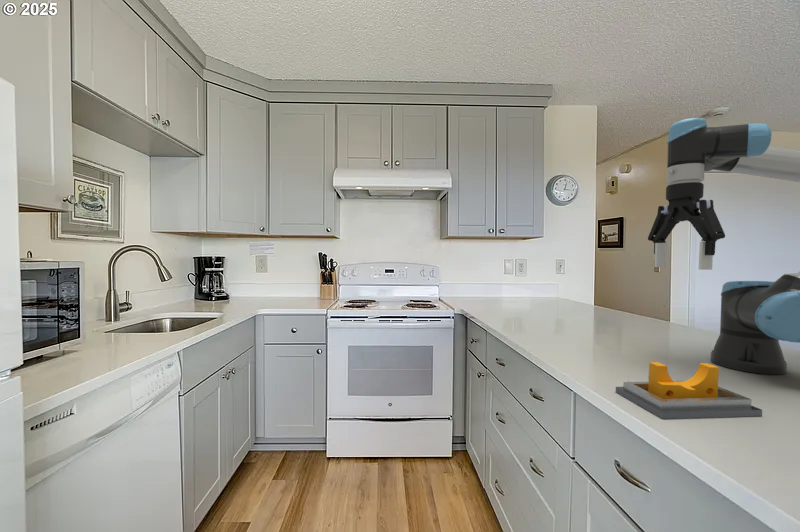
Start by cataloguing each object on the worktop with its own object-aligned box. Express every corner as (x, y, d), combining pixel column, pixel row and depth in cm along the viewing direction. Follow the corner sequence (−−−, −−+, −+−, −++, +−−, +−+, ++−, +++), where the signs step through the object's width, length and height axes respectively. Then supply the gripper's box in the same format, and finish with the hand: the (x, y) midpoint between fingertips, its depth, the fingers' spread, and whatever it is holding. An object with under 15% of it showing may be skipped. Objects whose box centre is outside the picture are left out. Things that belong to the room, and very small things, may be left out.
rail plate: (700, 390, 83) (700, 378, 83) (761, 416, 70) (762, 402, 70) (615, 392, 81) (615, 380, 81) (662, 419, 68) (663, 404, 68)
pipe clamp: (661, 400, 74) (662, 368, 73) (648, 392, 78) (649, 362, 78) (724, 402, 73) (726, 370, 73) (707, 394, 77) (708, 363, 77)
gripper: (634, 191, 105) (632, 266, 106) (717, 173, 80) (712, 270, 81) (659, 191, 106) (656, 266, 107) (748, 174, 81) (744, 270, 82)
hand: (681, 268), depth 94 cm, fingers open, 13 cm apart
